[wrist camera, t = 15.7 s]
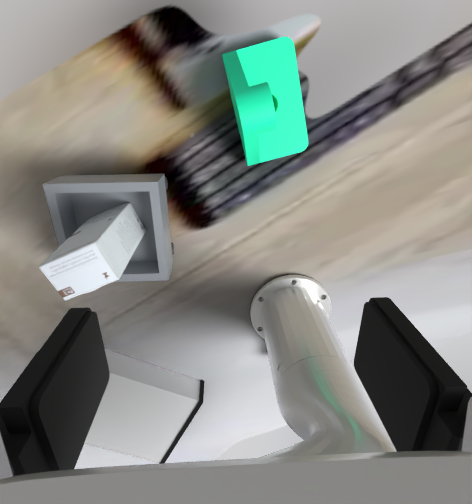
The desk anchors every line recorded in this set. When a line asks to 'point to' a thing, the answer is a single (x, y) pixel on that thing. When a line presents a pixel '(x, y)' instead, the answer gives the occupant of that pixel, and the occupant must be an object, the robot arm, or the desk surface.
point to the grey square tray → (109, 196)
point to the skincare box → (95, 252)
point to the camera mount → (267, 99)
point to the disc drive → (144, 409)
